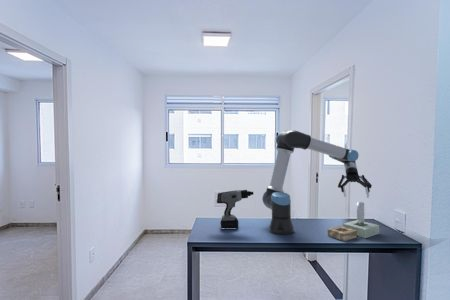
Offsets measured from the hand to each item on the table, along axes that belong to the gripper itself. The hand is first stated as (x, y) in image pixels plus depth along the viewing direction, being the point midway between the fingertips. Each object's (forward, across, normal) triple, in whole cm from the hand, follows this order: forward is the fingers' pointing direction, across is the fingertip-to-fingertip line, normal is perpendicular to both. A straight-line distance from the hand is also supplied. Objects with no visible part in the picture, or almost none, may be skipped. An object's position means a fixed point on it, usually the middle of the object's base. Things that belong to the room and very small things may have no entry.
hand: (356, 196), depth 173 cm
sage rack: (+22, 0, -7) cm, 23 cm away
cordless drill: (+24, +76, -5) cm, 80 cm away
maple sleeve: (+28, +12, 0) cm, 31 cm away
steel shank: (+22, 0, -7) cm, 23 cm away
